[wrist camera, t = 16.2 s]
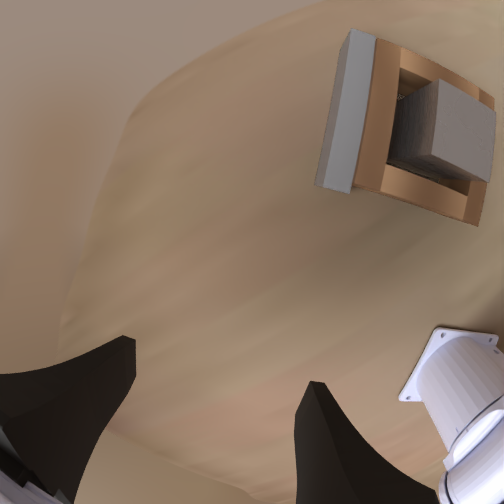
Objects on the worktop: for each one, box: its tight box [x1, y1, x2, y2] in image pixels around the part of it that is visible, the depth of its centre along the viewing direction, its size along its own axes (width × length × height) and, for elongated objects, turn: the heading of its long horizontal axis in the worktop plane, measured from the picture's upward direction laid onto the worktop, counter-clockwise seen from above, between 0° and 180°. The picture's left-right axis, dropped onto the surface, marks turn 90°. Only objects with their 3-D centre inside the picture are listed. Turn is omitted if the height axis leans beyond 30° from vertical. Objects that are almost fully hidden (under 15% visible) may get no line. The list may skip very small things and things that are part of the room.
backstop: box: [314, 28, 376, 194], centre depth 15 cm, size 2×10×4 cm, turn 168°
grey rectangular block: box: [386, 78, 496, 183], centre depth 13 cm, size 4×4×7 cm
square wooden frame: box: [352, 38, 494, 227], centre depth 14 cm, size 9×9×4 cm
